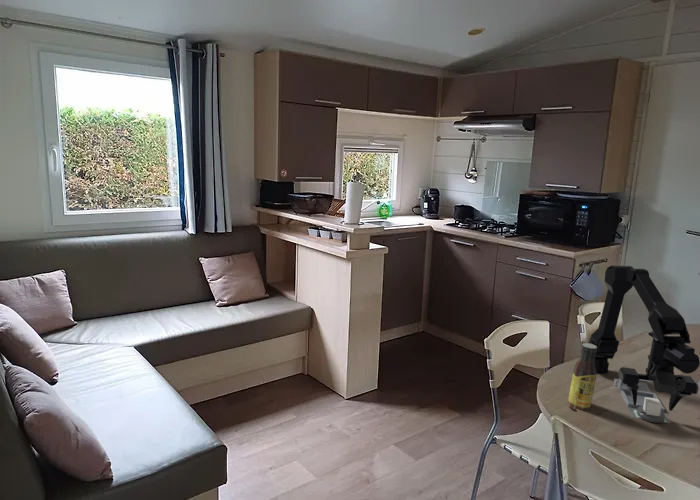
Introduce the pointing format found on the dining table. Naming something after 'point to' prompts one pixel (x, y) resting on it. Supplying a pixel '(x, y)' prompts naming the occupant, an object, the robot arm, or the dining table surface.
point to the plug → (651, 411)
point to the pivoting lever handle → (618, 383)
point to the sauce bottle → (583, 379)
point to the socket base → (638, 398)
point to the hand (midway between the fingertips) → (652, 407)
